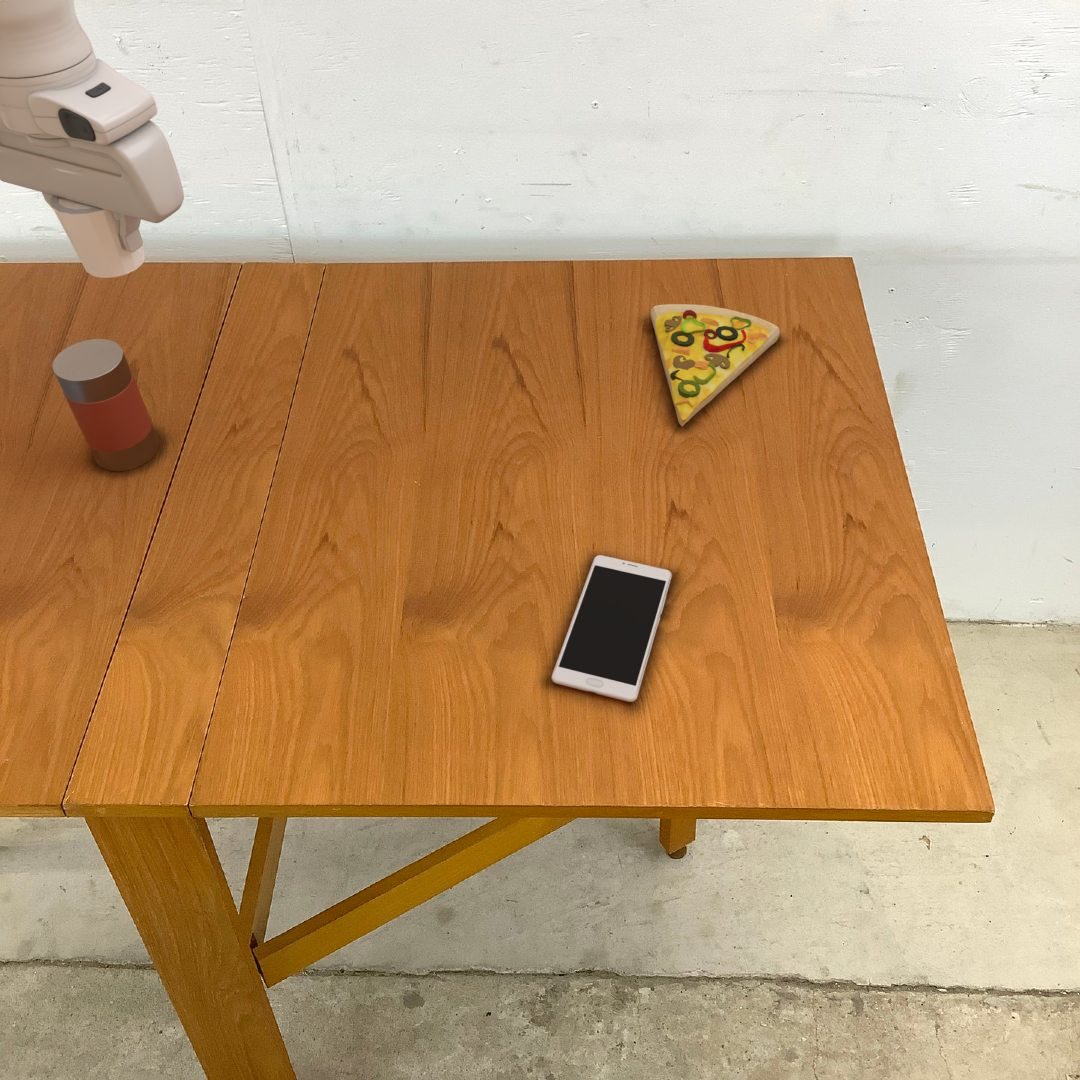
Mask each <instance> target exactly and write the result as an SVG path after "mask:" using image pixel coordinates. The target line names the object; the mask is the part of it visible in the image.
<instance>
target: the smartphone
mask: <svg viewBox="0 0 1080 1080" xmlns="http://www.w3.org/2000/svg"><path fill="white" fill-rule="evenodd" d="M588 571H589V572H588V574H587V576H586V579H585V582H584V585H583V588H582V591H581V594H580V596H579V599H578V602H577V604H576V607H575V610H574V613H573V615H572V618H571V621H570V624H569V627H568V629H567V632H566V635H565V638H564V641H563V643H562V647H561V648H560V652H559V654H558V657H557V660H556V662H555V665H554V669H553V671H552V674H551V681H552V682H553V683H554V684H557V685H560V686H565V687H567V688H572V689H577V690H579V691H584V692H588V693H594V694H596V695H599V696H604V697H608V698H613V699H616V700H620V701H623V702H628V703H633V702H635V701H636V700H637V699H638V696H639V693H640V689H641V685H642V682H643V679H644V675H645V672H646V669H647V664H648V661H649V658H650V655H651V650H652V647H653V643H654V640H655V636H656V634H657V629H658V627H659V623H660V621H661V616H662V614H663V611H664V607H665V604H666V600H667V596H668V595H667V594H668V591H669V588H670V585H671V580H672V577H673V575H672V572H671V571H670V570H668V569H665V568H661V567H656V566H652V565H647V564H644V563H638V562H634V561H630V560H625V559H622V558H621V559H620V558H617V557H616V558H615V557H611V556H607V555H602V554H597V555H596V556H595V557H594V558H593V560H592V563H591V566H590V569H589V570H588Z"/></svg>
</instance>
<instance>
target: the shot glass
mask: <svg viewBox="0 0 1080 1080" xmlns="http://www.w3.org/2000/svg"><path fill="white" fill-rule="evenodd" d="M50 201H51V205H52V208H53V209H52V208H51V209H52V210H53V212H54V213H55V215H56V218H57V219H58V221H59V222H60V225H61V226H62V229H63V231H64V232H65V234H66V236H67V238H68V240H69V242H70V244H71V246H72V248H73V249H74V251H75V253H76V256H77V257H78V258H79V259H78V260H79V261H80V263H81V264H82V266H83V269H84V270H85V272H86V273H88V274H89V275H90V276H92V277H95V278H101V279H107V278H108V279H109V278H111V279H112V278H117V277H121V276H125V275H128V274H130V273H132V272H134V271H136V270H138V269H139V268H140V267H141V266H142V265H143V264H144V261H145V259H146V253H145V250H144V246H143V245H142V246H141V247H140V248H139V249H137V250H136V251H135V252H130V251H127V250H124V249H122V247H121V244H120V241H119V238H118V234H119V233H120V220H116V219H115V218H114V215H113V213H112V211H109V210H105V209H101V208H98V207H94V206H91V205H87V204H83V203H80V202H76V201H72V200H69V199H65V198H61V197H58V196H54V195H53V196H52V198H51V200H50Z"/></svg>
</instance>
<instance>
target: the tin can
mask: <svg viewBox="0 0 1080 1080" xmlns="http://www.w3.org/2000/svg"><path fill="white" fill-rule="evenodd" d="M124 352H125V351H124V350H123V348H122V347H121V346H120V344H119V343H117V342H115V341H113V340H110V339H105V338H93V339H92V338H91V339H86V340H82V341H78V342H75V343H73V344H71V345H69V346H67V347H66V348H64V349H62V350H61V351H60V352H59V353H58V354H57V355H56V356H55V358H54V360H53V362H52V371H53V373H54V375H55V377H56V379H57V382H58V384H59V386H60V388H61V390H62V393H63V395H64V399H65V400H66V402H67V404H68V406H69V409H70V410H71V413H72V414H73V416H74V419H75V421H76V422H77V425H78V427H79V429H80V432H81V433H82V435H83V437H84V440H85V442H86V444H87V445H88V447H89V449H90V451H91V454H92V456H93V458H94V460H95V462H96V464H97V465H98V466H99V467H100V468H102V469H104V470H106V471H110V472H127V471H132V470H135V469H138V468H140V467H143V466H144V465H146V464H147V463H149V462H150V461H151V460H152V459H154V457H155V456H156V455H157V453H158V452H159V449H160V441H159V438H158V434H157V433H156V430H155V428H154V427H155V426H154V425H153V422H152V419H151V416H150V413H149V411H148V408H147V406H146V404H145V401H144V398H143V397H142V394H141V392H140V388H139V386H138V384H137V381H136V379H135V376H134V374H133V371H132V369H131V367H130V365H129V363H128V360H127V357H126V355H125V353H124Z"/></svg>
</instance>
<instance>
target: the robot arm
mask: <svg viewBox="0 0 1080 1080" xmlns="http://www.w3.org/2000/svg"><path fill="white" fill-rule="evenodd" d="M157 114H158V107H157V103H156V100H155V98H154V96H153V94H152V93H151V91H149V90H148V89H146V88H144V87H143V86H141V85H139V84H137V83H135V82H134V81H133V80H131V79H129V78H127V77H126V76H125V75H123V74H121V73H120V72H118V71H116V70H115V69H114V68H112V66H111V65H109V64H108V63H106V62H105V61H104V60H102V59H100V58H97V56H96V54H95V50H94V48H93V44H92V42H91V40H90V38H89V37H88V34H87V33H86V32H85V30H84V29H83V27H82V26H81V23H80V22H79V19H78V16H77V13H76V10H75V0H0V181H1V182H4V183H8V184H11V185H14V186H17V187H21V188H24V189H28V190H33V191H36V192H38V193H41V194H42V196H43V199H44V201H45V202H46V203H47V205H49V207H50V208H51V209H52V210H53V208H52V205H51V201H50V200H51V198H52V196H53V195H54V196H58V197H61V198H65V199H69V200H72V201H76V202H80V203H83V204H87V205H91V206H94V207H98V208H101V209H105V210H109V211H112V213H113V215H114V218H115V219H116V220H120V233H119V234H118V238H119V241H120V244H121V247H122V249H124V250H127V251H130V252H135V251H136V250H137V249H139V248H140V247H141V246H142V245H143V244H144V240H143V237H142V234H141V232H140V227H141V226H140V225H141V221H145V222H149V223H152V224H160V223H162V222H164V221H165V220H166V219H168V218H169V217H171V216H172V215H174V214H175V213H176V212H177V211H179V210H181V209H180V208H181V207H182V205H183V202H184V200H185V192H184V188H183V183H182V181H181V177H180V174H179V170H178V167H177V164H176V161H175V158H174V155H173V153H172V149H171V147H170V144H169V142H168V140H167V138H166V136H165V134H164V132H163V131H162V130H161V128H160V127H159V126H158V125H157V124H156V123H154V122H153V121H152V119H153V118H154V117H155V116H156V115H157Z"/></svg>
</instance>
